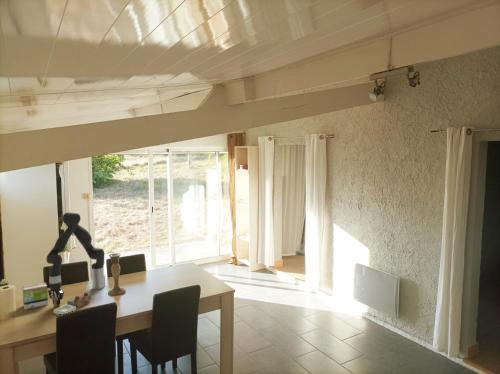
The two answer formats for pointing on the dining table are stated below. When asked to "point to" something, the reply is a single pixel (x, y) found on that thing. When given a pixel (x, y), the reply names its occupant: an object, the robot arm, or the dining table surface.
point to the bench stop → (82, 300)
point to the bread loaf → (55, 302)
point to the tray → (64, 309)
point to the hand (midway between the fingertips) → (56, 304)
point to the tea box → (35, 295)
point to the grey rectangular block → (71, 302)
